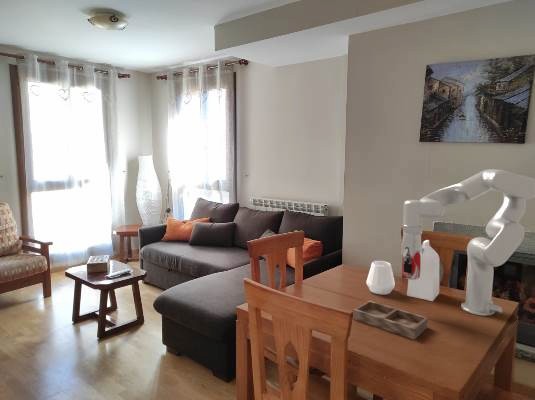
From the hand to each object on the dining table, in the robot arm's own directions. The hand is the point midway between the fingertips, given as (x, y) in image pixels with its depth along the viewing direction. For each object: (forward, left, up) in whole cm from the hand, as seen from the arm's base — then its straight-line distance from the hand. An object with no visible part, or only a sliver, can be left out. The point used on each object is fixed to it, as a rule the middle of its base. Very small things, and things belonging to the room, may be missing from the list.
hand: (411, 270), depth 162 cm
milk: (+2, -22, -18) cm, 28 cm away
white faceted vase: (+19, -12, -18) cm, 29 cm away
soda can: (0, 0, -4) cm, 4 cm away
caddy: (0, +18, -18) cm, 25 cm away
